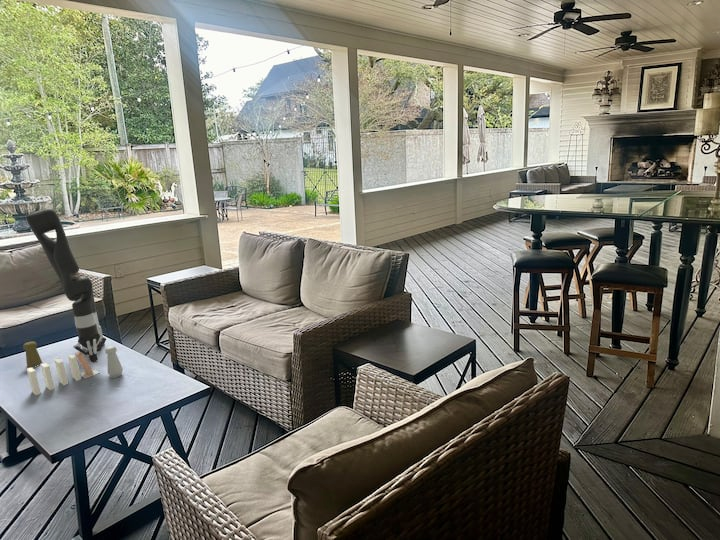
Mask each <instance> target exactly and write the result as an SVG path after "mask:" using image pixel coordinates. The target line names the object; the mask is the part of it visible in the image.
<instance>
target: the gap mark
mask: <svg viewBox="0 0 720 540" xmlns="http://www.w3.org/2000/svg"><path fill="white" fill-rule="evenodd" d="M92 371H93V373H94V374H92V375H90V376H89V375H88V374H86V373H85V372H82V373H80V375H81V378H84V379H87V378H90V377H92V376H95V375H98V373H99V374H100V372H99V371H97V370H96V369H95V368H93V369H92Z"/></svg>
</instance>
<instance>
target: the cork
mask: <svg viewBox="0 0 720 540" xmlns="http://www.w3.org/2000/svg"><path fill="white" fill-rule="evenodd" d="M22 347H23V350H24V351H25V358H26V359H25V361H26V368H27V369H28V368H31V367H33V368H36V367H35V366H37V365H39V366H41V365H40V364H41V363H42V364H43V361H42V359H41V356H40V353H39V351H38V349H37V347H38V344H37V342H36V341H28V342H25V343H24V344H23V345H22ZM37 367H38V366H37Z"/></svg>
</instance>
